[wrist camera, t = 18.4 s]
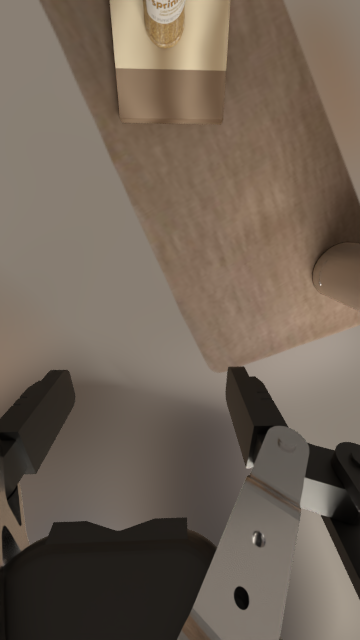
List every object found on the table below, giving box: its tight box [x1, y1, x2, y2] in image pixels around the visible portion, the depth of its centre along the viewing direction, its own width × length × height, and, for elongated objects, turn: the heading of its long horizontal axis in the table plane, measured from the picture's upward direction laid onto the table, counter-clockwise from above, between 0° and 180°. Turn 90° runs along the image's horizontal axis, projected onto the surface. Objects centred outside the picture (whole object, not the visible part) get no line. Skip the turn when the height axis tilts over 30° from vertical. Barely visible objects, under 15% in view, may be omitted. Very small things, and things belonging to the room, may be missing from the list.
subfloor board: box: [110, 0, 230, 124], centre depth 25 cm, size 13×13×2 cm
